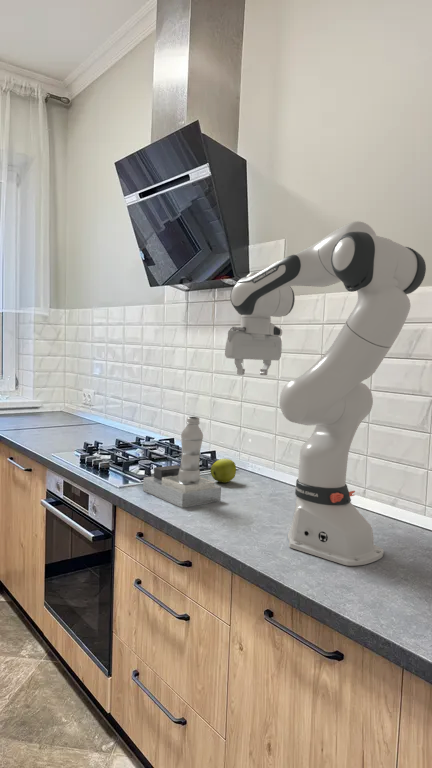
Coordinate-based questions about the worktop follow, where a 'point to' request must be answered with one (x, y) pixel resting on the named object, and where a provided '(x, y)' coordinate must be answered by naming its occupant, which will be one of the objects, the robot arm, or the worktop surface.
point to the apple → (223, 470)
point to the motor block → (180, 488)
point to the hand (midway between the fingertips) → (252, 375)
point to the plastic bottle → (190, 452)
